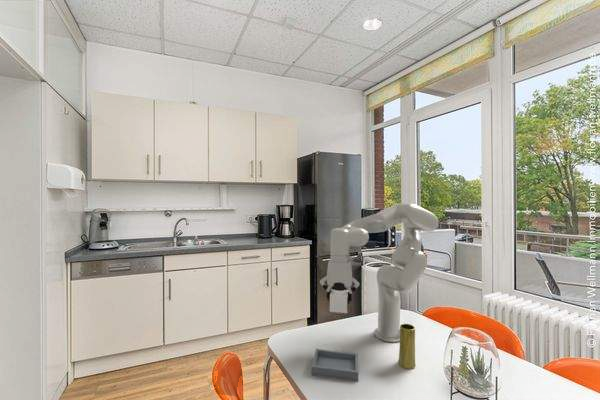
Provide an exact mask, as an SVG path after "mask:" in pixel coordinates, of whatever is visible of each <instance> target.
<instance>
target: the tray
mask: <svg viewBox="0 0 600 400" xmlns="http://www.w3.org/2000/svg"><path fill="white" fill-rule="evenodd" d="M359 372H360V371H359V353H357V352H356V353H354V352H347V351H337V350H329V349H321V348H316V349H315V352H314V356H313V360H312V364H311V376H316V377H322V378H323V377H324V378H329V379H337V380H338V379H339V380H345V381H355V382H359V375H360V374H359Z"/></svg>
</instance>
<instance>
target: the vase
mask: <svg viewBox="0 0 600 400" xmlns="http://www.w3.org/2000/svg"><path fill="white" fill-rule="evenodd" d="M398 350H399V352H398V353H399V354H398V355H399V356H398V361H397V363H398V365H399V366H401V367H402V368H404V369H407V370H413V369H415V368H416V327H415V326H414V325H412V324H410V323H400V341H399V349H398Z"/></svg>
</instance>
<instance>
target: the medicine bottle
mask: <svg viewBox="0 0 600 400" xmlns="http://www.w3.org/2000/svg"><path fill="white" fill-rule="evenodd" d="M330 291H331V293H330V302H329V312H330V313H338V314H348V313H349V303H348V292H349V291H348V289H347V287H345V285H344V284H343V283H334V286H333V287H331V289H330Z"/></svg>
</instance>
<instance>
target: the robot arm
mask: <svg viewBox="0 0 600 400" xmlns="http://www.w3.org/2000/svg"><path fill="white" fill-rule="evenodd" d="M401 223H402V225H403V230H404V234H403V235H404V236H403V237H402V239H401V241H400V243H399V244H398V246H397V247H396V248H395V250H394V251H393V253H392V254H391V261H392V264H393V265H389V264H384V265H381V266H379V268H378V269H377V272H376V282H377V289H378V290H377V291H378V297H377V298H378V300H377V301H378V306H377V307H378V310H377V311H378V312H377V313H378V314H377V328H375V329H374V332H373V334H374V336H375V337H376V338H377V339H379V340H381V341H384V342H388V343H397V342H399V343H400V325H401V303H402V302H401V294H409V293H411V292H412V291H413V289H414V288H416V287H415V286H416V285H417V284H418V282H419V281H420V279H421V278H422V276H423V275H424V273H425V271H426V269H427V265H428V258H427V255H426V254H425V253H424V251H421V250H420V248H421V247H422V244H423V240H422V236H421V232H420V231H422V232H427V233H429V232H430V233H431V232H435V230H436V229H438V227H439V219H438V216H436V215H435V213H434V212H431V211H429V210H427V209H425V208H423V207H421V206H419V205H417V204H414V203H403V202H401V203H400V202H399V203H395V204H392V205H390V206H388V207H386V208H384V209H382V210H381V211H379V212H376V213H375V214H371V215H368V216H364V217H361V218H357V219H355V220H353V221H351V222H349V223H347V224H345V225H343V226H342V227H336V228H331V231H330V260H329V261H328V264H327V269H326V270H327V271H326V275H325V276H324V277H323V278H321V279H320V280H319V284H320V285H321V286H322V288H323V289H324V290H325V292H326V299H327V300H328V303H330V293H331V290H332V287H333V286H334V283H343V284H344V285H345V287H347V290H348V305H349V304H350V303H351V301H352V295H353V293H354V292H355V291H356V290H357V289H358V287H360V282H359V281H358V280H357V279H356V278H354V276H353V272H352V271H353V269H352V263H351V260H353V256H351V255H350V247H351V246H352V247H362V246H365V245H366V244H368V242H369V239H370V235H369V234H372V233H373V234H374V233H375V234H376V233H378V234H379V233H382V232H383V233H384V232H386V231H388V230H390V229H391V228H393V227H395V226H396V225H398V224H401ZM394 265H395V266H394ZM325 282H326V283H325ZM353 284H354V285H353ZM352 285H353V286H352ZM400 293H401V294H400Z"/></svg>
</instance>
